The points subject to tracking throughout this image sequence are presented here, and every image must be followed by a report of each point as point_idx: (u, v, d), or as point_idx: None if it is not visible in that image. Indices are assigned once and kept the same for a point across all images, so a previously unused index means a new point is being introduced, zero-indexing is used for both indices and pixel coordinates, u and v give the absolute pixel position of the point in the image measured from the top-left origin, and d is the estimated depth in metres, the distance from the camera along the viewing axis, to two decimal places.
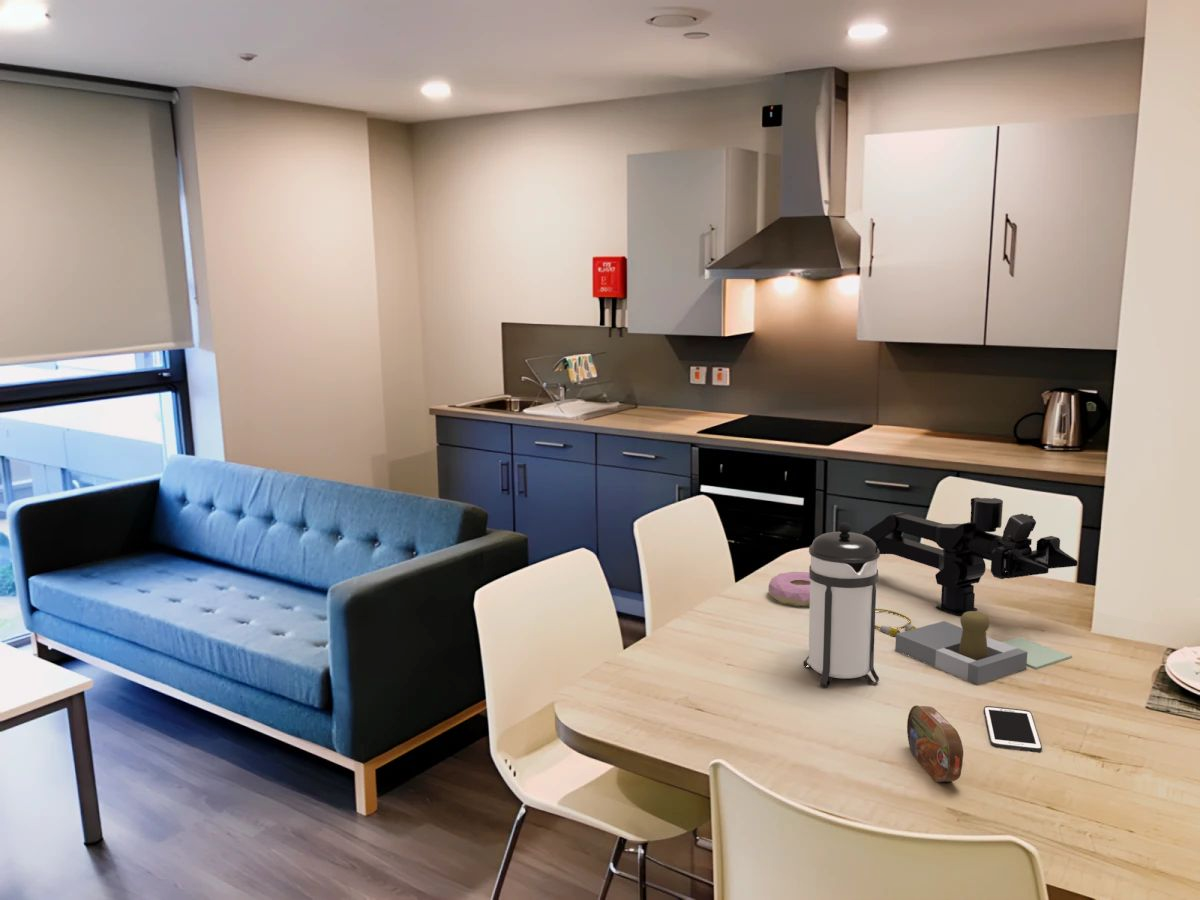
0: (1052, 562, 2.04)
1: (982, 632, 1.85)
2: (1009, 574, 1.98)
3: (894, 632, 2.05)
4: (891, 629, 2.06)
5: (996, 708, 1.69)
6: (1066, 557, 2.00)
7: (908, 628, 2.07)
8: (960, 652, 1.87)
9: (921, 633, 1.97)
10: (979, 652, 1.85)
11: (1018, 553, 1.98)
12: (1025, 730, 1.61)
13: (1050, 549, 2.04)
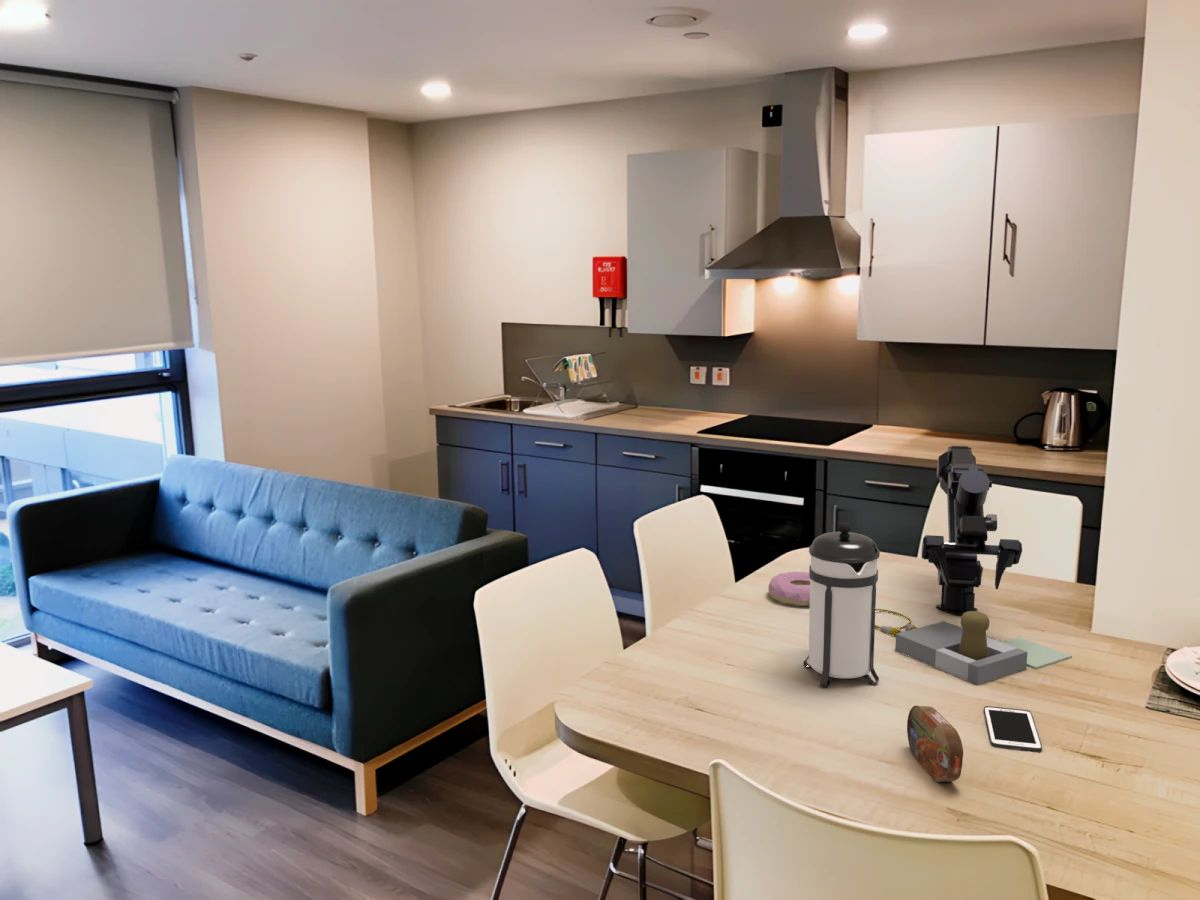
0: (996, 566, 1.96)
1: (982, 632, 1.85)
2: (930, 561, 2.01)
3: (895, 632, 2.05)
4: (892, 629, 2.06)
5: (996, 708, 1.69)
6: (996, 576, 1.93)
7: (909, 628, 2.07)
8: (960, 652, 1.87)
9: (921, 633, 1.97)
10: (979, 652, 1.85)
11: (941, 552, 1.97)
12: (1025, 730, 1.61)
13: (998, 556, 1.95)
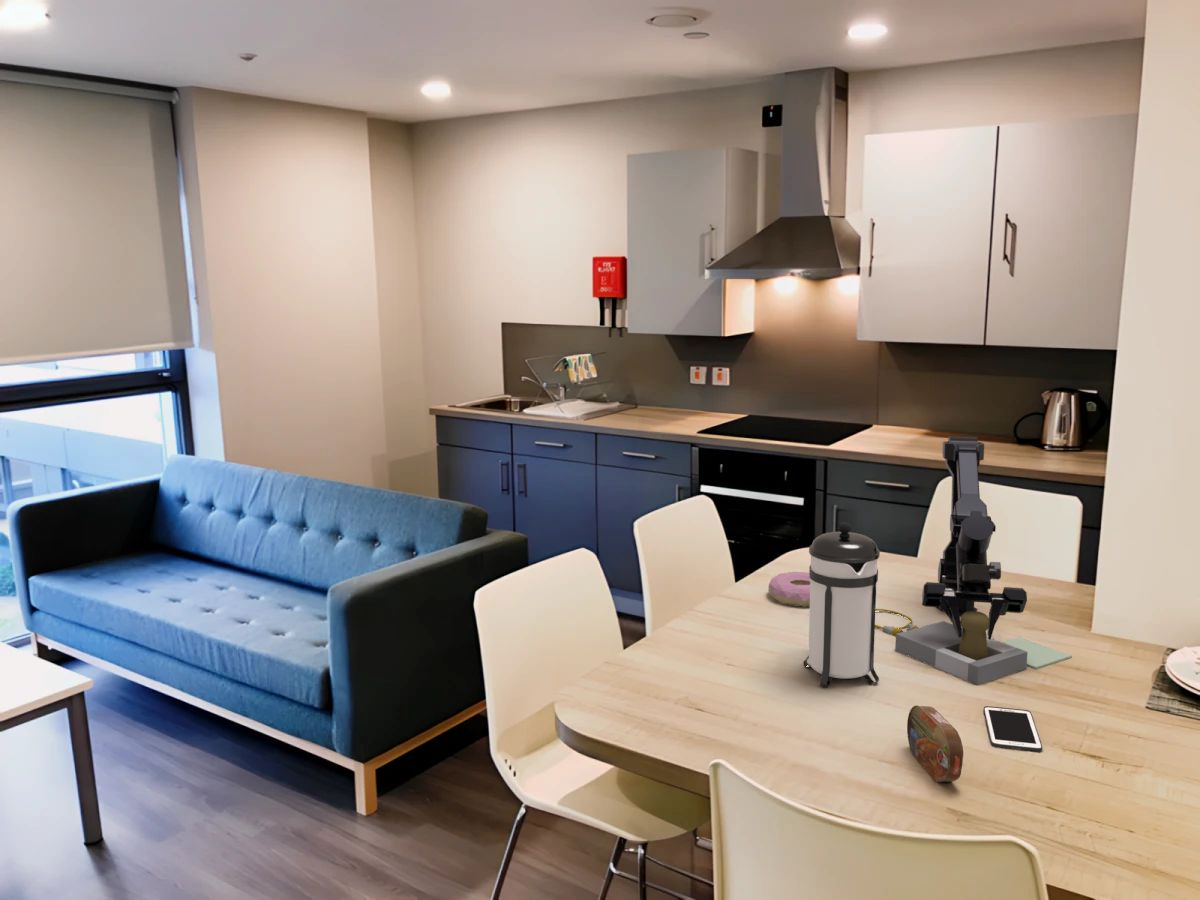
0: (989, 614, 1.89)
1: (982, 632, 1.85)
2: (941, 609, 1.92)
3: (897, 632, 2.05)
4: (894, 629, 2.06)
5: (996, 708, 1.69)
6: (989, 625, 1.86)
7: (911, 628, 2.07)
8: (960, 652, 1.87)
9: (921, 633, 1.97)
10: (979, 652, 1.85)
11: (953, 602, 1.88)
12: (1025, 730, 1.61)
13: (991, 604, 1.88)
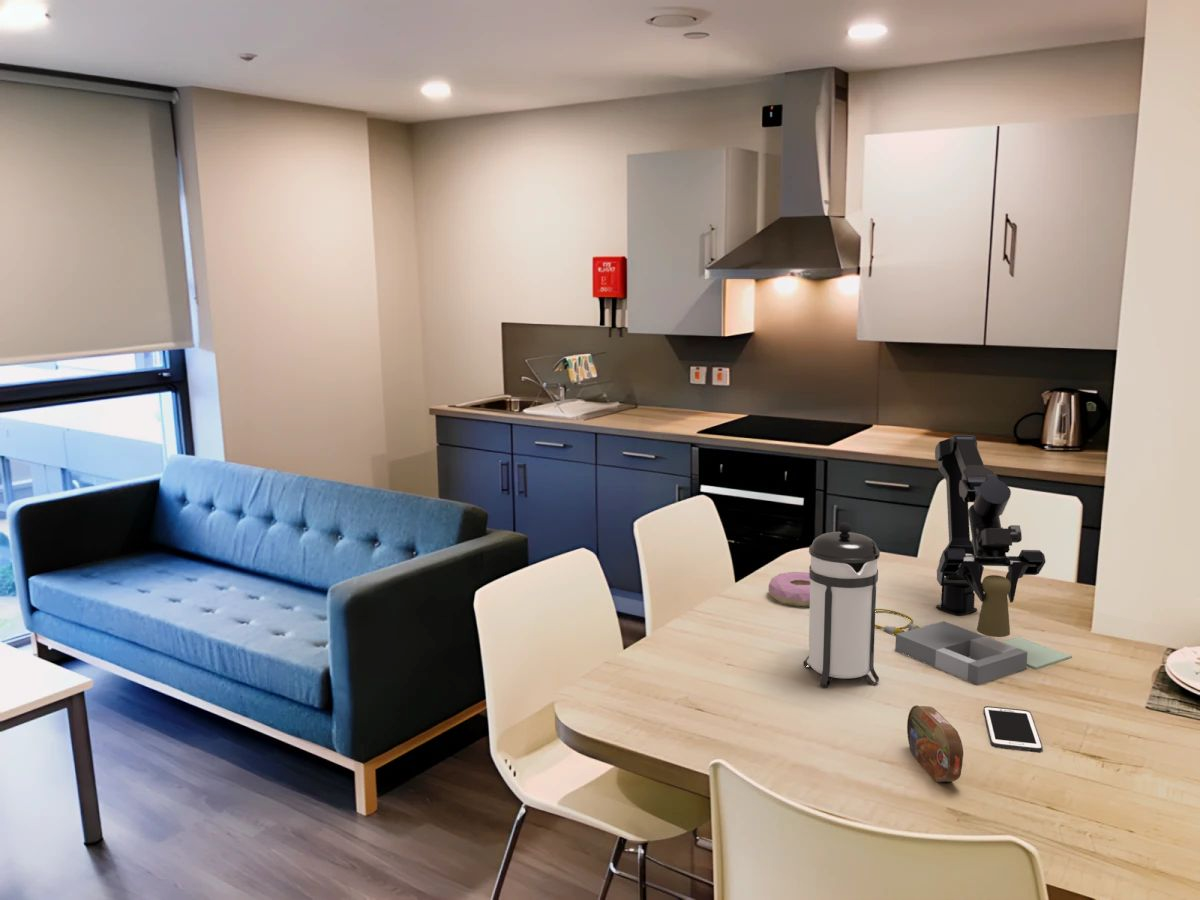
0: (1007, 577, 1.90)
1: (1004, 596, 1.86)
2: (959, 574, 1.92)
3: (899, 632, 2.05)
4: (896, 629, 2.06)
5: (996, 708, 1.69)
6: None
7: (912, 628, 2.07)
8: (982, 616, 1.88)
9: (921, 633, 1.97)
10: (1002, 616, 1.86)
11: (974, 567, 1.88)
12: (1025, 730, 1.61)
13: (1011, 568, 1.88)
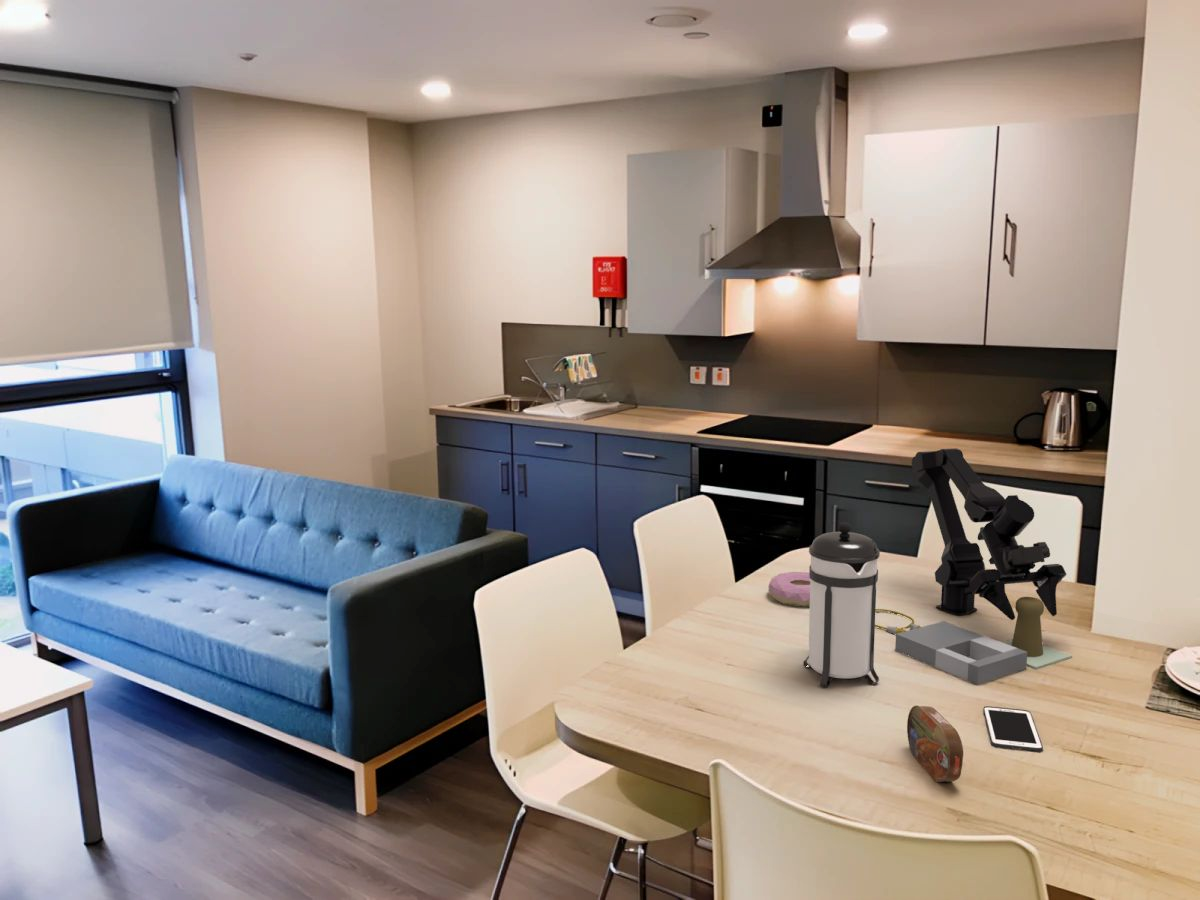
0: (1041, 592, 1.97)
1: None
2: (982, 595, 1.96)
3: None
4: (898, 629, 2.06)
5: (995, 708, 1.69)
6: (1051, 602, 1.94)
7: (914, 628, 2.07)
8: (1019, 638, 1.93)
9: (921, 633, 1.97)
10: (1039, 636, 1.92)
11: (1000, 586, 1.92)
12: (1025, 730, 1.61)
13: (1046, 582, 1.96)
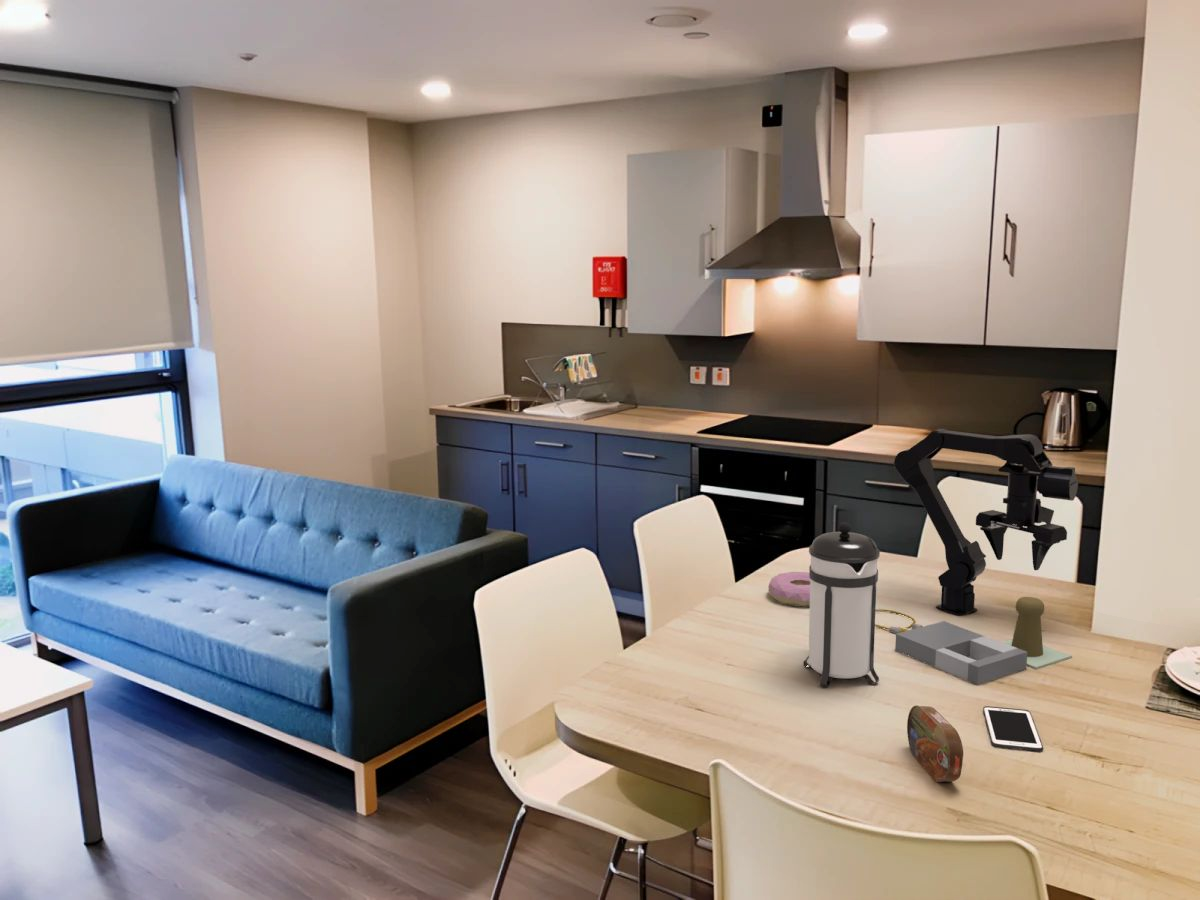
0: (995, 534, 2.13)
1: (1040, 616, 1.92)
2: None
3: None
4: (901, 630, 2.05)
5: (995, 708, 1.69)
6: (1002, 548, 2.14)
7: None
8: (1020, 638, 1.93)
9: (921, 633, 1.97)
10: (1039, 636, 1.92)
11: None
12: (1025, 730, 1.61)
13: (1003, 529, 2.14)
